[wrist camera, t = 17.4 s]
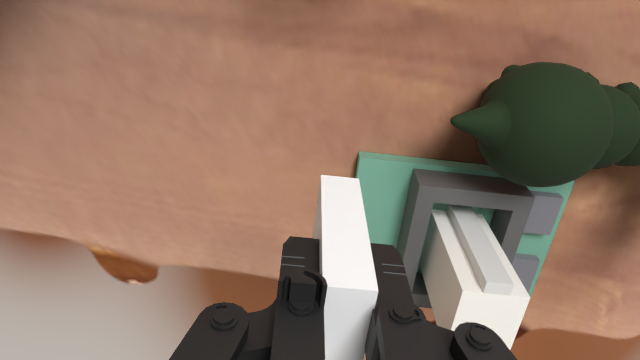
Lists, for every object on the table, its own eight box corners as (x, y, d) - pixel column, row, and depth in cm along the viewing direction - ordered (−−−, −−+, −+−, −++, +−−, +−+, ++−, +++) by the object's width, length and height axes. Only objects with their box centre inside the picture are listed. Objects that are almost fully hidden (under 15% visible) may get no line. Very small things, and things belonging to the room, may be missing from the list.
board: (340, 271, 50) (341, 303, 46) (358, 151, 44) (362, 174, 39) (524, 289, 51) (543, 322, 46) (567, 173, 44) (594, 198, 40)
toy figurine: (700, 75, 42) (434, 32, 39) (982, 163, 25) (552, 102, 22) (651, 169, 46) (407, 138, 43) (865, 300, 29) (488, 266, 26)
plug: (418, 260, 47) (444, 351, 37) (433, 200, 44) (466, 279, 34) (467, 265, 48) (507, 357, 37) (485, 205, 44) (534, 286, 34)
